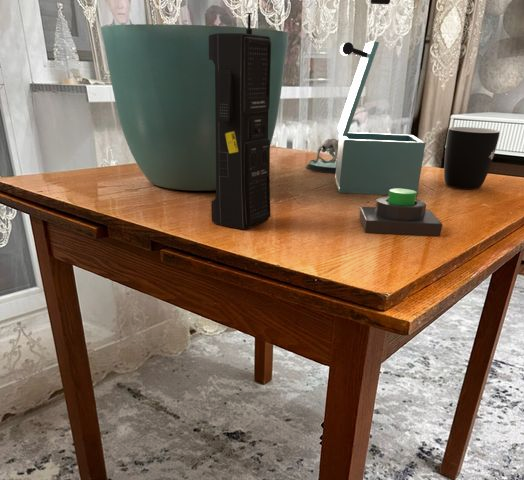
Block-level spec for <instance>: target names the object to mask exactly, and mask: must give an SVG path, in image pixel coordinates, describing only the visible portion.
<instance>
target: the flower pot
mask: <svg viewBox="0 0 524 480" xmlns="http://www.w3.org/2000/svg"><path fill="white" fill-rule="evenodd" d="M246 29H248V27H245V26H228V25H211V24H208V25H207V24H205V25H204V24H172V23H171V24H169V23H168V24H161V23H160V24H159V23H158V24H157V23H155V24H154V23H153V24H152V23H145V24H144V23H142V24H141V23H139V24H138V23H135V24H111V25H103V26H101V27H100V32H101V36H102V41H103V45H104V50H105V55H106V61H107V66H108V71H109V76H110V83H111V89H112V92H113V97H114V103H115V107H116V111H117V115H118V119H119V123H120V126H121V129H122V132H123V136H124V138H125V141H126V144H127V147H128V149H129V151H130V153H131V155H132V157H133V159H134V160H135V162H136V164H137V166H138V168H139V169H140V171H141V172H142V173H143V176H144V177H146V179H147V180H148V181H149V182H150V183H151V185H154V186H157V187H160V188H164V189H170V190H178V191H191V192H192V191H193V192H200V191H201V192H205V191H206V192H207V191H209V192H210V191H211V192H212V191H213V192H214V191H216V117H215V64H214V62H213V60H210V59H209V35H212V34H217V33H245V34H246ZM250 29H252V34H254V35H262V36H268V37H270V42H271V68H270V105H269V110H268V139H269V140H270V146H271V145H272V141H273V139H274V138H273V137H274V133H275V130H276V125H277V120H278V117H279V116H278V115H279V111H280V110H279V109H280V103H281V95H282V88H283V83H284V82H283V81H284V75H285V73H284V72H285V64H286V58H287V51H288V50H287V49H288V44H289V36H290V35H289V34H290V33H289V32H288V31H284V30H279V29H278V30H277V29H270V28H259V27H250Z"/></svg>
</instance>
